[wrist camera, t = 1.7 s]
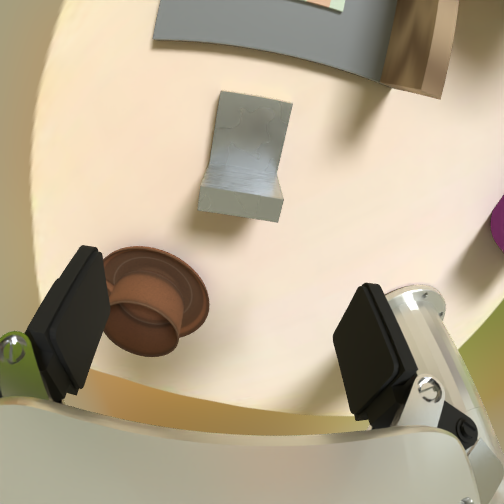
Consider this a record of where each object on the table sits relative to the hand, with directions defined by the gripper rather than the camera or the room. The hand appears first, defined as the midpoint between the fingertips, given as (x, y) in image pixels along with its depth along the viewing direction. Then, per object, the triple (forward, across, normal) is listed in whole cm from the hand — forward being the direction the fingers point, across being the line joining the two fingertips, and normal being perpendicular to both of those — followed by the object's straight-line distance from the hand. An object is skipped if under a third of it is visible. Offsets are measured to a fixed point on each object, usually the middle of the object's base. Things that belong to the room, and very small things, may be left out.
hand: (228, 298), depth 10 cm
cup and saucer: (+15, +6, +14) cm, 21 cm away
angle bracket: (+15, -1, -2) cm, 15 cm away
